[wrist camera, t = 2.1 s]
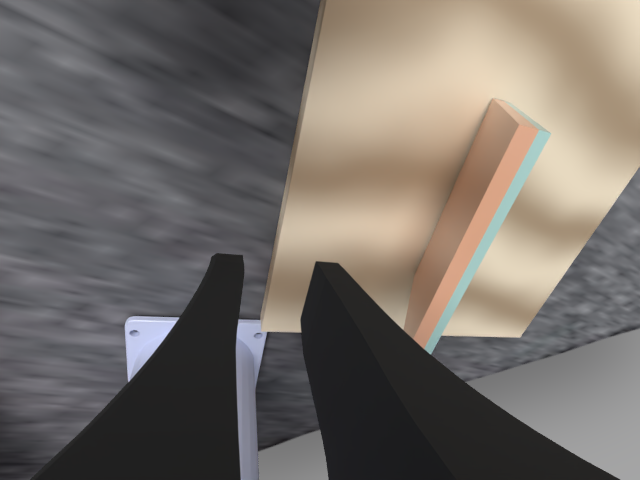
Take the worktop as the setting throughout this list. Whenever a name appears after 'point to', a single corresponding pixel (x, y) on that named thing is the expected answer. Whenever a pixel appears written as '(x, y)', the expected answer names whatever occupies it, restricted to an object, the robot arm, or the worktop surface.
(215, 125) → the worktop surface
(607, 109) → the board
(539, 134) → the tile
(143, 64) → the worktop surface
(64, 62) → the worktop surface
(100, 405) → the worktop surface
